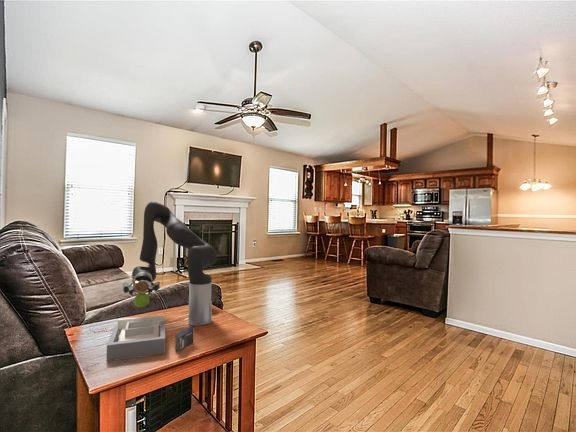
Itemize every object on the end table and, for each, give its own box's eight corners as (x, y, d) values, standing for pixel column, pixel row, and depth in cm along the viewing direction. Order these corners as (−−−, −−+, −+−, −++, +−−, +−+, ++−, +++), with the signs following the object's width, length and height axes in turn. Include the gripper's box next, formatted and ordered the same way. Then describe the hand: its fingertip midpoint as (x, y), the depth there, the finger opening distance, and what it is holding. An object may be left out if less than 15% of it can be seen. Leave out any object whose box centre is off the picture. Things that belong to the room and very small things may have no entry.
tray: (162, 324, 129) (163, 314, 129) (163, 340, 113) (164, 329, 113) (117, 329, 122) (118, 319, 122) (111, 346, 106) (112, 334, 106)
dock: (163, 333, 120) (164, 321, 120) (164, 353, 103) (165, 338, 103) (114, 339, 113) (114, 326, 113) (106, 361, 97) (106, 345, 97)
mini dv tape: (179, 352, 104) (179, 334, 104) (175, 351, 105) (175, 334, 105) (193, 343, 112) (193, 326, 112) (189, 342, 113) (190, 326, 113)
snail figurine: (134, 305, 121) (134, 274, 121) (151, 304, 121) (151, 274, 121) (128, 309, 116) (128, 277, 115) (146, 309, 116) (146, 277, 116)
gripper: (124, 273, 129) (119, 282, 113) (161, 272, 134) (161, 280, 119) (123, 291, 129) (118, 303, 113) (160, 289, 134) (160, 300, 119)
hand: (140, 291), depth 116 cm, fingers closed on snail figurine, 5 cm apart
